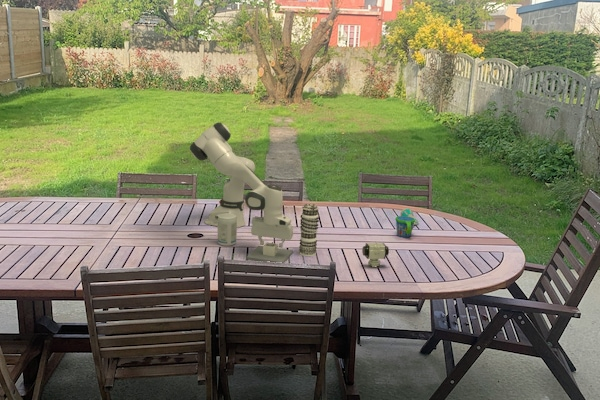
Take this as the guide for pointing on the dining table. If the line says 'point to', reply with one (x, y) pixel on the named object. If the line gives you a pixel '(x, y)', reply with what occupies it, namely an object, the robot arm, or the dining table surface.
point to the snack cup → (404, 225)
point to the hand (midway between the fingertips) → (271, 245)
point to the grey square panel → (279, 257)
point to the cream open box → (270, 249)
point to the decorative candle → (309, 230)
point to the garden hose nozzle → (408, 214)
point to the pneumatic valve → (375, 253)
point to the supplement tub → (227, 229)
